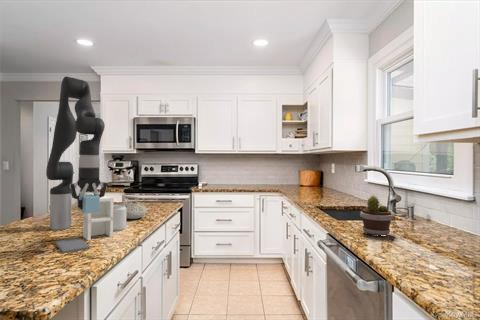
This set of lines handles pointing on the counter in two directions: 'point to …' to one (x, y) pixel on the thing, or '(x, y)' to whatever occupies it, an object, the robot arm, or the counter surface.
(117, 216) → the can
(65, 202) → the robot arm
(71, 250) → the mat
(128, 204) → the decorative shell
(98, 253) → the counter surface
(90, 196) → the block
